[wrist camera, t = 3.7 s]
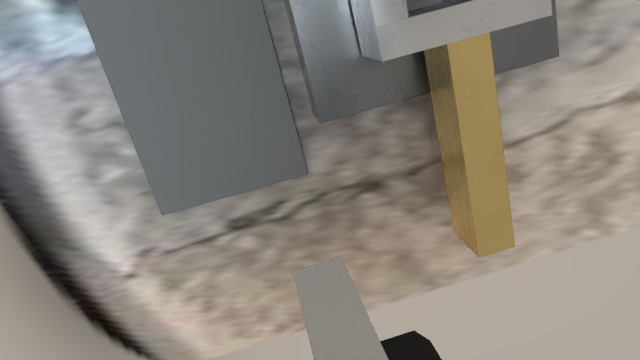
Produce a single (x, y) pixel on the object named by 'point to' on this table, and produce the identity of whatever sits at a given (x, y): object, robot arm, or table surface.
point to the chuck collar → (458, 98)
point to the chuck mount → (395, 74)
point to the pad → (198, 95)
